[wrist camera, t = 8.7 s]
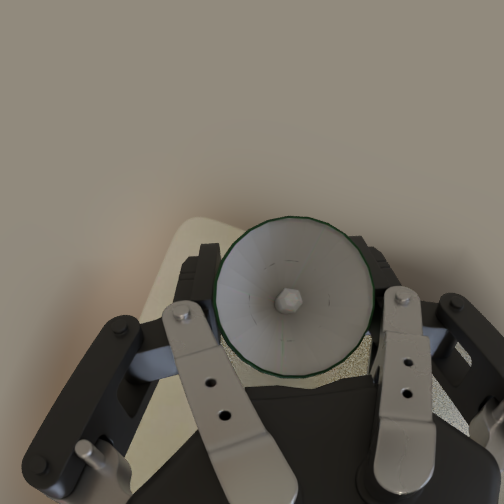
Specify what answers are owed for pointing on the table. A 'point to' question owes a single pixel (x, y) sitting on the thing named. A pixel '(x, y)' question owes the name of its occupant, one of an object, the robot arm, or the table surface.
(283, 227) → the flashlight
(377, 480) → the robot arm
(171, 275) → the table surface
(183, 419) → the table surface
